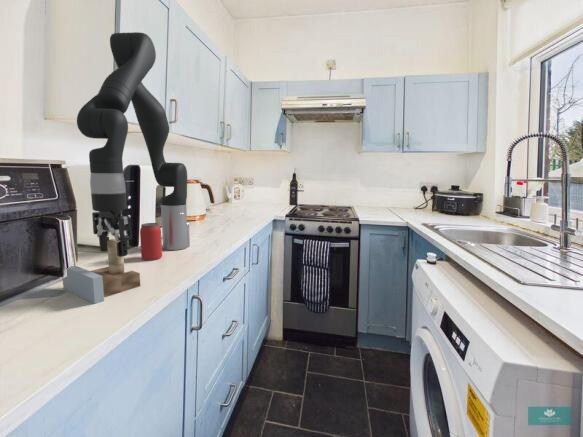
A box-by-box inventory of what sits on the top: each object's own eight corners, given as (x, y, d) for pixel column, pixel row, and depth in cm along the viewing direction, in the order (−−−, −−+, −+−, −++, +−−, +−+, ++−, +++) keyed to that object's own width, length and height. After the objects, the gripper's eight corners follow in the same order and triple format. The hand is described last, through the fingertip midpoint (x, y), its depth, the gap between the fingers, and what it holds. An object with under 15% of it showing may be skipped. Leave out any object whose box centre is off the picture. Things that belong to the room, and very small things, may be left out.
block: (115, 276, 85) (115, 264, 85) (140, 285, 79) (139, 273, 78) (76, 287, 77) (74, 274, 76) (99, 298, 71) (98, 284, 70)
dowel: (120, 281, 82) (118, 238, 80) (127, 283, 80) (125, 240, 79) (106, 284, 79) (104, 240, 77) (114, 287, 77) (111, 242, 76)
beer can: (144, 262, 100) (142, 226, 98) (139, 257, 105) (137, 223, 103) (164, 258, 104) (163, 224, 102) (159, 254, 109) (157, 222, 107)
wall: (72, 285, 78) (70, 263, 77) (104, 300, 70) (102, 276, 69) (63, 288, 76) (61, 265, 75) (94, 303, 68) (92, 278, 67)
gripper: (139, 192, 75) (143, 254, 78) (109, 189, 82) (113, 246, 85) (108, 193, 69) (113, 261, 71) (78, 190, 76) (84, 252, 79)
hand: (113, 253), depth 78 cm, fingers open, 8 cm apart
